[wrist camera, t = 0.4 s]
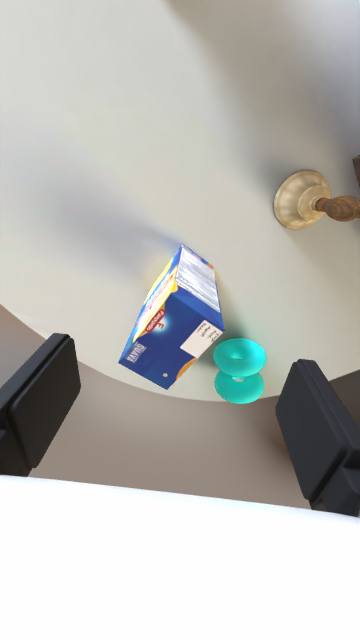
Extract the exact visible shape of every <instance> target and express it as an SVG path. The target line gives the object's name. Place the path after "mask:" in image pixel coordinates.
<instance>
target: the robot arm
mask: <svg viewBox="0 0 360 640" xmlns="http://www.w3.org/2000/svg"><path fill="white" fill-rule="evenodd" d="M80 388H81V383H80V377H79V371H78V364H77V357H76V351H75V344H74V340H73V338H70V336H69V335H68V334H60V333H53V334H52V335H51V336H50V337H49V338H48V339H47V340H46V341H45V343H44V344H42V346H41V347H40V348H39V349H38V350H37V351H36V352H35V353H34V354H33V355H32V356H31V357H30V358H29V359H28V360H27V361H26V362H25V363H24V364H23V365H22V366H21V367H20V368H19V370H18V371H17V372H16V373H15V374H14V375H13V376H12V377H11V378H10V379H9V380H8V381H7V382H6V383H5V384H4V385H3V386H2V387H1V389H0V640H360V429H359V428H358V426H357V424H356V423H355V422H354V420H353V418H352V417H351V415H350V414H349V412H348V411H347V409H346V408H345V406H344V405H343V403H342V401H341V400H340V398H339V397H338V395H337V394H336V392H335V391H334V389H333V388H332V386H331V385H330V383H329V382H328V380H327V378H326V377H325V375H324V374H323V372H322V371H321V369H320V368H319V366H318V365H317V363H316V362H315V361H313V360H305V359H299V360H298V361H297V362H294V363H293V364H292V366H291V369H290V372H289V374H288V377H287V379H286V382H285V384H284V387H283V390H282V392H281V395H280V397H279V400H278V403H277V405H276V416H277V419H278V422H279V425H280V428H281V431H282V434H283V437H284V440H285V443H286V446H287V449H288V452H289V455H290V458H291V461H292V464H293V467H294V470H295V473H296V476H297V479H298V482H299V485H300V488H301V491H302V494H303V496H304V498H305V499H308V500H309V503H310V506H311V509H312V510H309V509H301V508H293V507H286V506H278V505H270V504H261V503H254V502H245V501H237V500H228V499H221V498H212V497H203V496H195V495H186V494H178V493H169V492H160V491H151V490H143V489H134V488H125V487H116V486H107V485H98V484H89V483H80V482H71V481H62V480H52V479H41V478H30V477H28V475H29V473H30V471H31V470H32V468H36V467H37V466H38V464H39V463H40V461H41V459H42V458H43V456H44V454H45V453H46V451H47V449H48V447H49V445H50V443H51V442H52V440H53V438H54V436H55V435H56V433H57V431H58V429H59V428H60V426H61V424H62V422H63V421H64V419H65V417H66V415H67V414H68V412H69V410H70V408H71V406H72V405H73V403H74V401H75V399H76V398H77V395H78V394H79V392H80Z"/></svg>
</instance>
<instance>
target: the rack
mask: <svg viewBox="0 0 360 640" xmlns="http://www.w3.org/2000/svg"><path fill="white" fill-rule="evenodd" d="M353 163H354V167H355V170H356V174H357V178H358V182H359V186H360V155H358V156H356V157H355V158H353Z"/></svg>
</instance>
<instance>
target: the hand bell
mask: <svg viewBox="0 0 360 640" xmlns="http://www.w3.org/2000/svg"><path fill="white" fill-rule="evenodd" d="M274 213H275V216H276V218H277V220H278V221H279V222H280V223H281V224H282V225H283V226H285V227H287V228H289V229H302V228H306V227H308V226H310V225H312V224H313V223H314V222H316V221H317V220H318V219H319V218H320V217H322V216H323V215H324V214H325V213H327V214H328V216H329V217H331V218H332V219H334V220H337V221H342V222H346V221H351V220H354V219H358V218H360V200H358V199H357V198H355V197H352V196H339V197H336V198H333V199H331V194H330V190H329V185H328V183H327V181H326V179H325V178H324V177H323V176H322V175H321V174H319V173H318V172H315V171H310V170H306V171H300V172H297V173H295V174H293V175H292V176H290V177H289V178H287V179H286V180H285V181H284V182H283V184H282V185H281V186H280V188H279V189H278V191H277V193H276V196H275V200H274Z"/></svg>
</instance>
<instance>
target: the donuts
mask: <svg viewBox="0 0 360 640" xmlns="http://www.w3.org/2000/svg"><path fill="white" fill-rule="evenodd" d="M237 358H240V359H241V360H239V359H237ZM213 359H214V362H215V364H216V366H217V367H218V368H219V369H220V371H219V372H218V373H217V375H216V377H215V381H214V384H215V388H216V391H217V392H218V394H219V395H220V396H221V397H222V398H224V399H225V400H227V401H229V402H232V403H237V404H246V403H250V402H253V401H255V400H256V399H258V398H259V397H260V396H261V394H262V392H263V390H264V382H263V379H262V377H261V375H260V374H259V373H258V372H259V371H260V370H261V369H262V368H263V367H264V365H265V363H266V353H265V351H264V349H263V348H262V347H261V346H260V345H259V344H257V343H256V342H254V341H251V340H248V339H242V338H234V339H229V340H226V341H223V342H222V343H220V344H219V345H218V346H217V347H216V348H215V350H214V353H213ZM233 379H242V380H245V381H243V382H236V381H234V380H233Z"/></svg>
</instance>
